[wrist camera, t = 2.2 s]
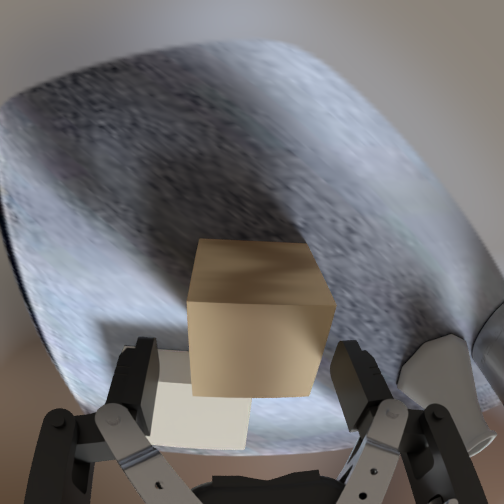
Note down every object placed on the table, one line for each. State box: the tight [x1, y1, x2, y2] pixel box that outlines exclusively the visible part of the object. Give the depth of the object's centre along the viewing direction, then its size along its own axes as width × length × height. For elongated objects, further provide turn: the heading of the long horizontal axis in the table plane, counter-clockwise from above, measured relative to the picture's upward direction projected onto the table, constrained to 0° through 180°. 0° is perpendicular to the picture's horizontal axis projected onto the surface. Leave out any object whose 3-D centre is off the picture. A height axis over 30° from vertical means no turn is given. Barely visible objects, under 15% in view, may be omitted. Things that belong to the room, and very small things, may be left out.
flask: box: [397, 334, 497, 457], centre depth 20 cm, size 7×7×10 cm
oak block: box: [187, 238, 336, 398], centre depth 16 cm, size 6×6×6 cm
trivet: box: [122, 346, 252, 450], centre depth 22 cm, size 9×9×3 cm
